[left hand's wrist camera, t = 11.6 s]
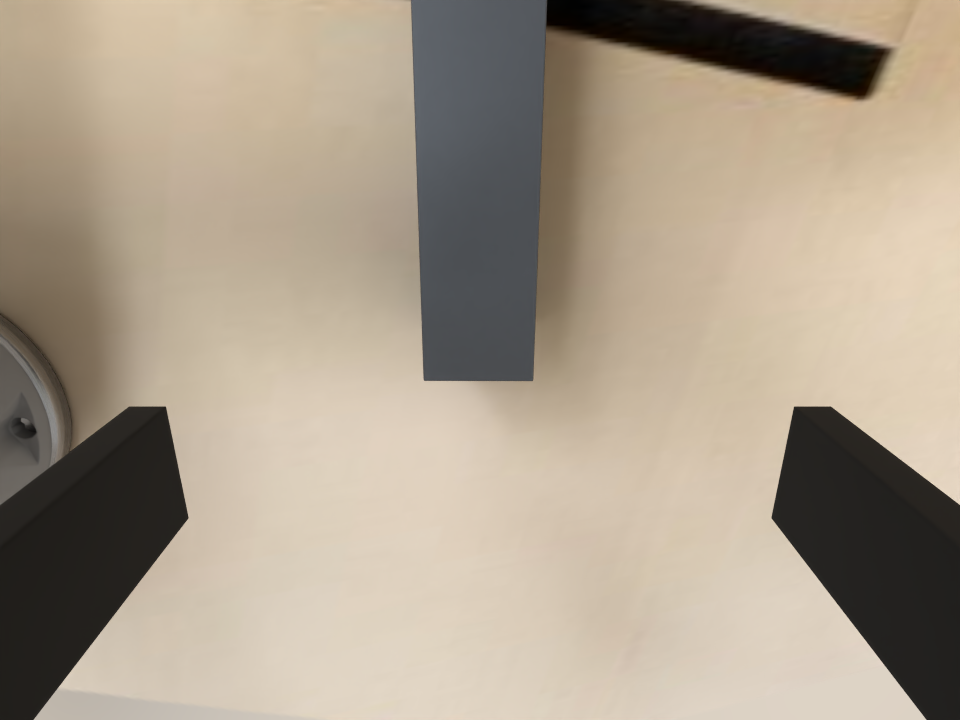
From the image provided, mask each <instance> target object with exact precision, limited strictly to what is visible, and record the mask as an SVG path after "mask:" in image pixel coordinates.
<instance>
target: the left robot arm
mask: <svg viewBox="0 0 960 720" xmlns="http://www.w3.org/2000/svg"><path fill="white" fill-rule="evenodd" d="M71 434H72V429H71V417H70V411H69V407H68V403H67V399H66V397H65V394H64V391H63V388H62V386H61V384H60V382H59V380H58V378H57V376H56V374H55V373H54V371H53V369H52V368H51V366H50V364H49V363H48V362H47V360H46V359H45V357H44V356H43V355H42V353H41V352H40V351H39V350H38V349H37V347H36V346H35V345H34V344H33V343H32V342H31V341H30V340H29V339H28V338H27V337H26V336H25V335H24V333H22V332H21V331H20V330H19V329H18V328H17V327H16V326H14V325H13V324H12V323H11V322H9V321H8V320H7V319H5V318H4V317H3V316H1V315H0V720H34V718H35V717H36V716H37V714H38V713H39V712H40V711H41V709H42V708H43V707H44V705H45V704H46V703H47V701H48V700H49V699H50V698H51V696H52V695H53V694H54V692H55V691H56V690H57V688H58V687H59V686H60V685H61V683H62V682H63V681H64V679H65V678H66V677H67V675H68V674H69V673H70V671H71V670H72V669H73V668H74V666H75V665H76V664H77V662H78V661H79V660H80V658H81V657H82V656H83V655H84V653H85V652H86V651H87V649H88V648H89V647H90V645H91V644H92V643H93V642H94V640H95V639H96V638H97V636H98V635H99V634H100V632H101V631H102V630H103V629H104V627H105V626H106V625H107V623H108V622H109V621H110V619H111V618H112V617H113V616H114V614H115V613H116V612H117V610H118V609H119V608H120V606H121V605H122V604H123V603H124V601H125V600H126V599H127V597H128V596H129V595H130V593H131V592H132V591H133V590H134V588H135V587H136V586H137V584H138V583H139V582H140V580H141V579H142V578H143V577H144V575H145V574H146V573H147V571H148V570H149V569H150V567H151V566H152V565H153V564H154V562H155V561H156V560H157V558H158V557H159V556H160V554H161V553H162V552H163V551H164V549H165V548H166V547H167V545H168V544H169V543H170V541H171V540H172V539H173V538H174V536H175V535H176V534H177V532H178V531H179V530H180V528H181V527H182V526H183V525H184V523H185V522H186V521H187V519H188V513H187V508H186V503H185V498H184V493H183V488H182V484H181V479H180V474H179V469H178V464H177V459H176V454H175V449H174V444H173V439H172V434H171V430H170V425H169V420H168V415H167V410H166V407H128V408H127V409H125V410H124V411H123V412H122V413H120V414H119V415H118V416H116V417H115V418H114V419H112V420H111V421H110V422H108V423H107V424H106V425H104V426H103V427H102V428H101V429H99V430H98V431H97V432H95V433H94V434H93V435H91V436H90V437H89V438H87V439H86V440H85V441H84V442H82V443H81V444H80V445H78V446H77V447H76V448H74V449H73V450H72V451H70V452H69V450H70V445H71ZM772 519H773V521H774V522H775V523H776V525H777V526H778V527H779V528H780V530H781V531H782V532H783V534H784V535H785V536H786V538H787V539H788V540H789V541H790V543H791V544H792V545H793V547H794V548H795V549H796V551H797V552H798V553H799V554H800V556H801V557H802V558H803V560H804V561H805V562H806V564H807V565H808V566H809V567H810V569H811V570H812V571H813V573H814V574H815V575H816V577H817V578H818V579H819V580H820V582H821V583H822V584H823V586H824V587H825V588H826V590H827V591H828V592H829V593H830V595H831V596H832V597H833V599H834V600H835V601H836V603H837V604H838V605H839V606H840V608H841V609H842V610H843V612H844V613H845V614H846V616H847V617H848V618H849V619H850V621H851V622H852V623H853V625H854V626H855V627H856V629H857V630H858V631H859V632H860V634H861V635H862V636H863V638H864V639H865V640H866V642H867V643H868V644H869V645H870V647H871V648H872V649H873V651H874V652H875V653H876V655H877V656H878V657H879V658H880V660H881V661H882V662H883V664H884V665H885V666H886V668H887V669H888V670H889V672H890V673H891V674H892V675H893V677H894V678H895V679H896V681H897V682H898V683H899V684H900V686H901V687H902V688H903V690H904V691H905V692H906V694H907V695H908V696H909V697H910V699H911V700H912V701H913V703H914V704H915V705H916V707H917V708H918V709H919V711H920V712H921V713H922V714H923V716H924V717H925V718H926V720H960V505H959V504H958V503H956V502H955V501H954V500H953V499H951V498H950V497H949V496H947V495H946V494H945V493H943V492H942V491H941V490H939V489H938V488H937V487H935V486H934V485H933V484H932V483H930V482H929V481H928V480H926V479H925V478H924V477H922V476H921V475H920V474H918V473H917V472H916V471H914V470H913V469H912V468H911V467H909V466H908V465H907V464H905V463H904V462H903V461H901V460H900V459H899V458H897V457H896V456H895V455H894V454H892V453H891V452H890V451H888V450H887V449H886V448H884V447H883V446H882V445H880V444H879V443H878V442H876V441H875V440H874V439H873V438H871V437H870V436H869V435H867V434H866V433H865V432H863V431H862V430H861V429H859V428H858V427H857V426H856V425H854V424H853V423H852V422H850V421H849V420H848V419H846V418H845V417H844V416H842V415H841V414H840V413H838V412H837V411H836V410H835V409H833V408H832V407H794V410H793V415H792V420H791V425H790V430H789V434H788V439H787V444H786V449H785V454H784V459H783V464H782V469H781V474H780V479H779V484H778V488H777V493H776V498H775V503H774V508H773V513H772Z"/></svg>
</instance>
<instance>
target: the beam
mask: <svg viewBox="0 0 960 720" xmlns="http://www.w3.org/2000/svg"><path fill="white" fill-rule="evenodd" d="M411 13H412V43H413V73H414V103H415V133H416V163H417V193H418V223H419V253H420V283H421V314H422V344H423V374H424V381H533V371H534V344H535V316H536V289H537V262H538V234H539V207H540V179H541V152H542V124H543V97H544V69H545V42H546V15H547V0H411Z"/></svg>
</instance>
